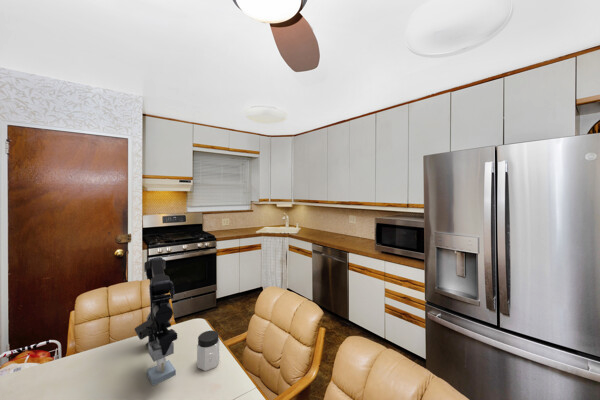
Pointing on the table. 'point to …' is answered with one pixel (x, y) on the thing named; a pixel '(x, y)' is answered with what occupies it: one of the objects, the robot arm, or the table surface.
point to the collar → (159, 351)
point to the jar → (208, 350)
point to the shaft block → (161, 371)
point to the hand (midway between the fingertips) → (161, 350)
